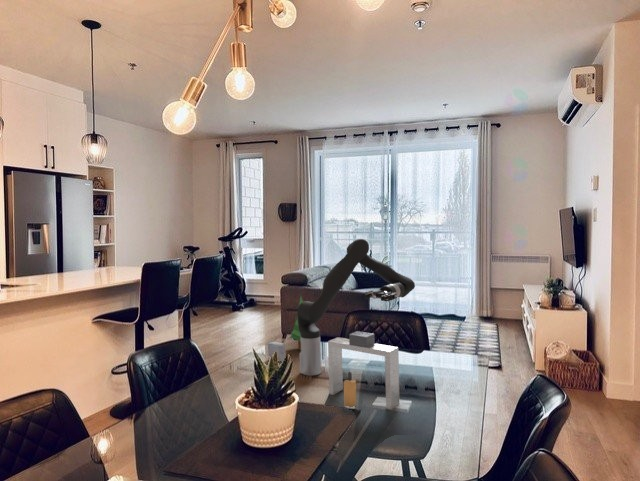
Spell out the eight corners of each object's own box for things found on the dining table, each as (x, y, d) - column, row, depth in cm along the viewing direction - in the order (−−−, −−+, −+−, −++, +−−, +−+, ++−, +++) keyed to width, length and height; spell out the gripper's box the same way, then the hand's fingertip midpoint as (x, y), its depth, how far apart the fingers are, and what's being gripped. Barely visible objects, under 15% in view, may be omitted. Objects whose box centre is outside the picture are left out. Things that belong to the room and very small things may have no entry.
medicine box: (285, 359, 231) (285, 343, 231) (280, 362, 227) (279, 345, 227) (273, 357, 235) (273, 341, 235) (268, 360, 232) (267, 343, 231)
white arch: (329, 394, 185) (327, 331, 184) (338, 388, 191) (337, 327, 189) (390, 409, 169) (389, 341, 167) (399, 403, 174) (398, 336, 173)
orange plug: (342, 408, 171) (341, 372, 170) (347, 404, 175) (346, 369, 174) (353, 411, 168) (352, 374, 168) (358, 406, 173) (357, 371, 172)
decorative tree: (311, 353, 241) (309, 297, 239) (284, 351, 246) (282, 296, 245) (320, 346, 253) (318, 293, 252) (294, 344, 259) (292, 292, 257)
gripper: (376, 283, 223) (359, 288, 210) (403, 285, 215) (387, 290, 202) (377, 298, 224) (360, 304, 211) (403, 301, 215) (387, 307, 202)
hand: (373, 297), depth 206 cm, fingers open, 8 cm apart
